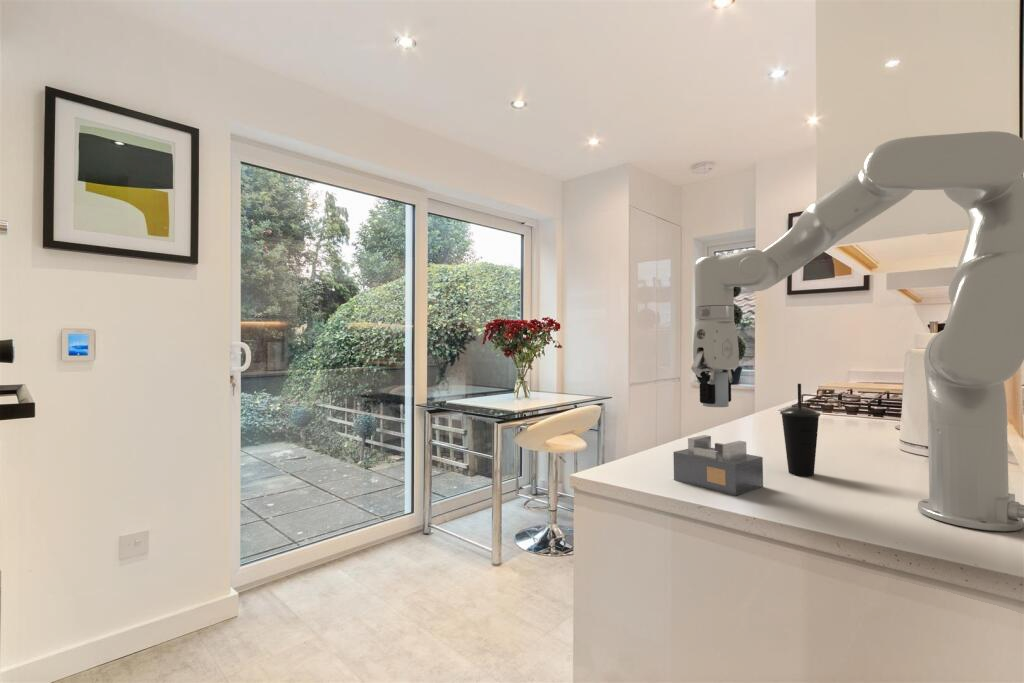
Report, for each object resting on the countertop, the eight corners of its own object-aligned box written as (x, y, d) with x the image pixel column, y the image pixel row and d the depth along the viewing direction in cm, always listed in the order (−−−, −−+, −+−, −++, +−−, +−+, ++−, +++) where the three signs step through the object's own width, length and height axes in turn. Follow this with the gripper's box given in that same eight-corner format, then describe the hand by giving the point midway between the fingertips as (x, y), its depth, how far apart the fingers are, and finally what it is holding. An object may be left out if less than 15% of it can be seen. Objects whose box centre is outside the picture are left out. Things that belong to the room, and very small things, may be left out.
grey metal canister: (733, 405, 100) (732, 367, 100) (719, 408, 97) (719, 368, 98) (711, 403, 104) (711, 366, 104) (697, 405, 102) (697, 367, 102)
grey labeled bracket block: (763, 486, 98) (762, 442, 98) (735, 496, 92) (734, 448, 92) (701, 472, 109) (701, 432, 109) (673, 479, 104) (673, 437, 104)
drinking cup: (810, 469, 110) (808, 382, 111) (828, 478, 103) (827, 385, 103) (775, 469, 111) (773, 382, 111) (791, 478, 104) (789, 385, 104)
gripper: (706, 313, 93) (707, 407, 93) (753, 315, 103) (755, 400, 103) (673, 315, 99) (674, 403, 99) (721, 317, 109) (722, 397, 109)
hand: (715, 401), depth 101 cm, fingers closed on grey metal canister, 5 cm apart
